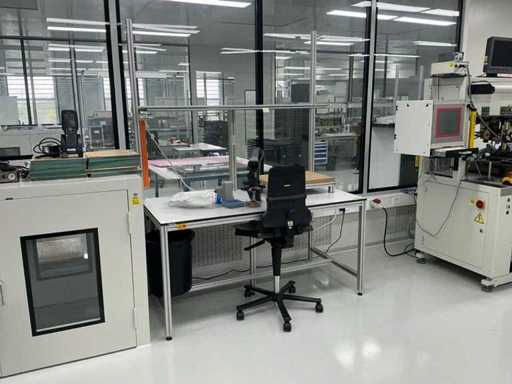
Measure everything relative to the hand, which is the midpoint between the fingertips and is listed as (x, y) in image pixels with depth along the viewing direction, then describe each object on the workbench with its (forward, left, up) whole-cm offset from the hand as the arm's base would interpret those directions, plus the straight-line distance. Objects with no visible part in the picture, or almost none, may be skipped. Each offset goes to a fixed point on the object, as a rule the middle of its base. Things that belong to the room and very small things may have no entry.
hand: (253, 199), depth 301 cm
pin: (0, 0, -5) cm, 5 cm away
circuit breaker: (+11, -22, -5) cm, 26 cm away
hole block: (0, 0, -5) cm, 5 cm away
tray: (+12, -9, -5) cm, 15 cm away
